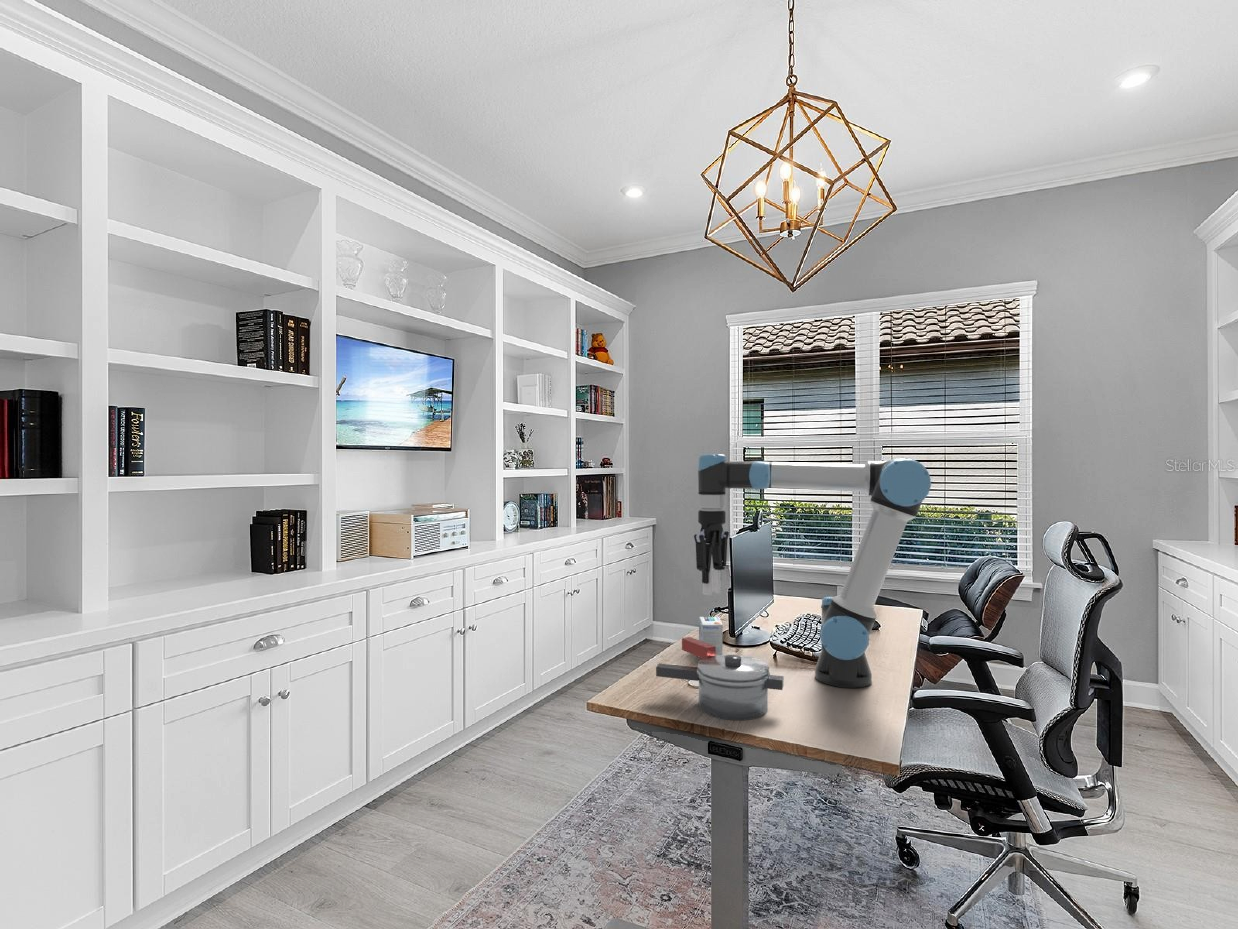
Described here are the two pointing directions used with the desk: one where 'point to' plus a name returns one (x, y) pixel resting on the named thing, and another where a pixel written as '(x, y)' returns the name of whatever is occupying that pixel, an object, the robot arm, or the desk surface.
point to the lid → (724, 663)
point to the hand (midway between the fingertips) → (711, 593)
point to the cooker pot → (726, 692)
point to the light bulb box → (711, 632)
